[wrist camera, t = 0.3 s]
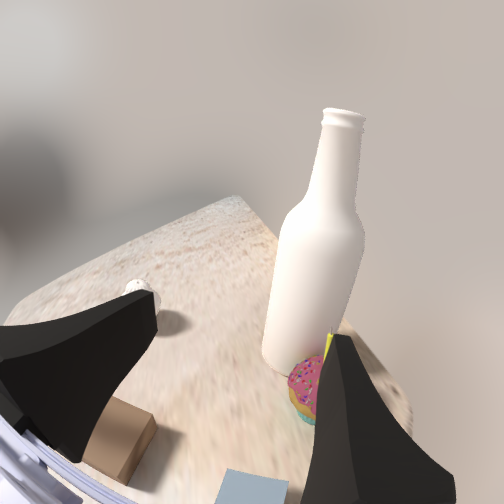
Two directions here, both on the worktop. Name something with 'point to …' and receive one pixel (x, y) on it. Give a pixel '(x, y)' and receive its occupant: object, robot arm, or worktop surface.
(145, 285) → the muffin
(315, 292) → the white bottle
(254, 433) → the worktop surface
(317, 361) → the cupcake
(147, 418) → the walnut base
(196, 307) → the worktop surface
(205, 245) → the worktop surface
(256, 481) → the blue cube
